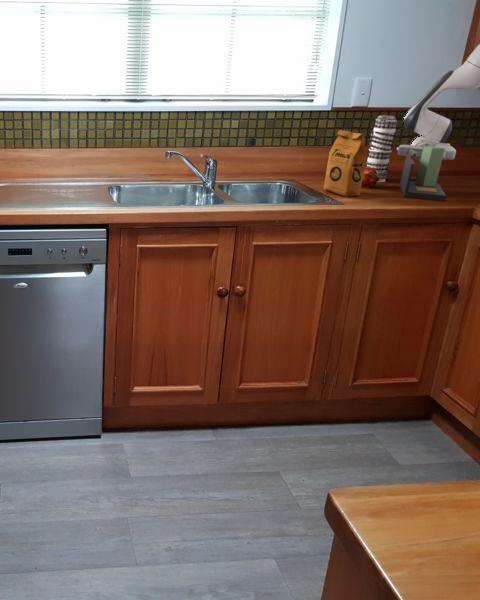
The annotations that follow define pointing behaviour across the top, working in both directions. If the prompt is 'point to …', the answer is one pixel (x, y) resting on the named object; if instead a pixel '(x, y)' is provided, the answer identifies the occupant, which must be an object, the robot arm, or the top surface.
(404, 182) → the grey l-shaped bracket
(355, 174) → the coffee package
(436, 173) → the carton
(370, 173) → the dragon fruit
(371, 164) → the decorative candle
